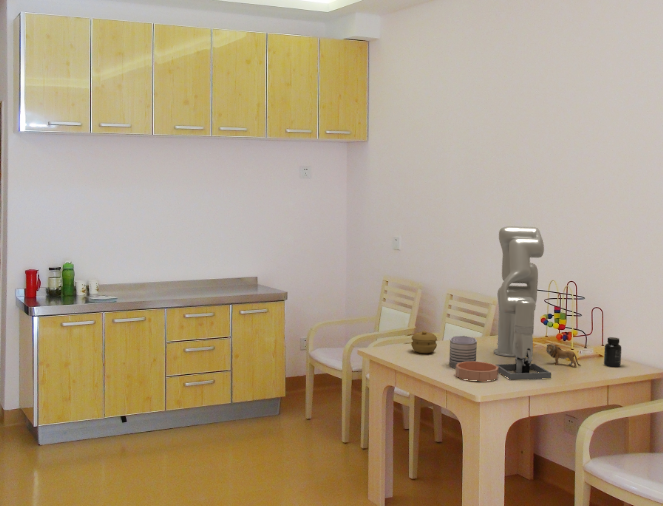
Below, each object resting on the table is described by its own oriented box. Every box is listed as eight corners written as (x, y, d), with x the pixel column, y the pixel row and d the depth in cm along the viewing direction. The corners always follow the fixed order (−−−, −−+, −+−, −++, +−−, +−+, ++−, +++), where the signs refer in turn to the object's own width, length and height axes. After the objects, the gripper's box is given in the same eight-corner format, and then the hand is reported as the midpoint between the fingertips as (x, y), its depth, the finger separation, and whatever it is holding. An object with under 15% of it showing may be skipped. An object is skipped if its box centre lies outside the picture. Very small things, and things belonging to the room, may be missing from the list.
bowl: (450, 371, 310) (450, 361, 309) (488, 370, 313) (488, 360, 312) (464, 382, 293) (464, 372, 293) (504, 381, 296) (504, 370, 296)
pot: (441, 352, 345) (442, 331, 344) (426, 356, 336) (427, 334, 335) (421, 348, 353) (421, 327, 352) (405, 352, 344) (406, 330, 343)
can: (479, 365, 322) (480, 338, 320) (470, 371, 312) (471, 342, 311) (454, 361, 327) (455, 334, 326) (444, 367, 318) (445, 339, 317)
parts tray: (494, 370, 314) (494, 364, 313) (534, 369, 317) (534, 363, 316) (509, 380, 298) (509, 374, 298) (550, 378, 301) (551, 372, 301)
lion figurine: (544, 364, 325) (545, 344, 324) (546, 362, 330) (547, 341, 329) (580, 368, 319) (581, 347, 318) (581, 365, 324) (582, 345, 323)
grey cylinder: (514, 373, 309) (514, 358, 309) (525, 372, 310) (525, 358, 310) (519, 376, 305) (519, 361, 304) (530, 375, 305) (531, 361, 305)
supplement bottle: (619, 364, 327) (621, 337, 326) (621, 368, 321) (622, 340, 320) (603, 363, 329) (604, 336, 328) (604, 366, 323) (605, 339, 322)
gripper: (507, 326, 313) (505, 368, 315) (524, 334, 297) (522, 379, 298) (523, 325, 315) (522, 367, 316) (542, 334, 298) (540, 378, 300)
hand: (522, 372), depth 307 cm, fingers open, 5 cm apart
